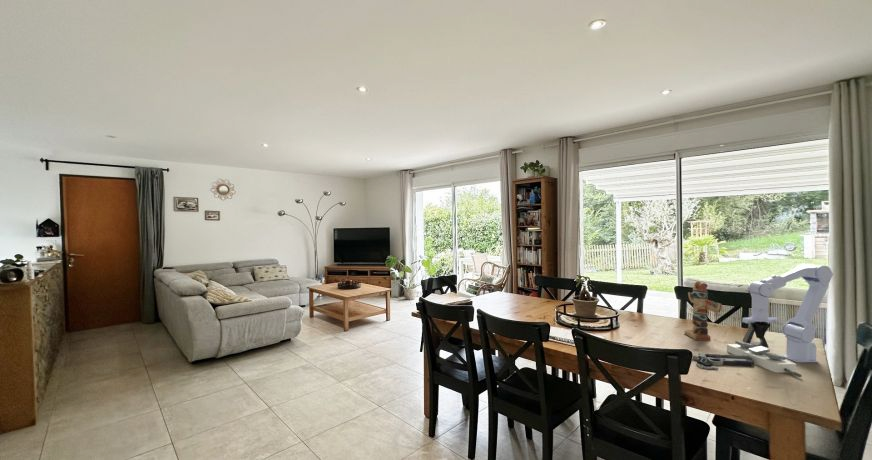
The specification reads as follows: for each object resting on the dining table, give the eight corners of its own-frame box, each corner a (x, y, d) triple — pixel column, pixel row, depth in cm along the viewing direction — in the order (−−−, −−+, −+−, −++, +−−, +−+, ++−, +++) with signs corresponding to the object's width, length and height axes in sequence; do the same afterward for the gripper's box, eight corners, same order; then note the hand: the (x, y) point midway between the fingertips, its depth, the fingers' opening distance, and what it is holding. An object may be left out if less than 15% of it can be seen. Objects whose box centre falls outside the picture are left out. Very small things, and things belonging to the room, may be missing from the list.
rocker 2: (761, 348, 163) (760, 345, 163) (769, 351, 159) (769, 348, 159) (748, 351, 163) (748, 348, 163) (756, 354, 159) (756, 351, 159)
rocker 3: (775, 356, 157) (776, 354, 156) (784, 360, 153) (785, 357, 152) (762, 354, 156) (763, 351, 156) (771, 358, 152) (772, 355, 152)
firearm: (767, 368, 149) (744, 353, 163) (700, 364, 154) (684, 349, 168) (766, 375, 149) (744, 359, 164) (700, 371, 154) (684, 356, 169)
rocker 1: (747, 345, 171) (747, 342, 170) (754, 348, 167) (755, 345, 166) (735, 343, 170) (735, 340, 170) (742, 346, 166) (743, 343, 166)
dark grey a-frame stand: (765, 343, 183) (765, 320, 183) (768, 347, 178) (768, 323, 178) (742, 340, 188) (742, 318, 188) (745, 344, 183) (745, 321, 182)
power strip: (744, 351, 174) (745, 342, 174) (811, 378, 144) (811, 368, 144) (726, 351, 173) (726, 343, 173) (789, 379, 143) (789, 368, 143)
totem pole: (675, 328, 209) (676, 277, 208) (689, 329, 208) (690, 278, 207) (705, 346, 181) (706, 287, 180) (722, 346, 180) (722, 287, 179)
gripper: (752, 311, 158) (751, 341, 159) (784, 310, 158) (784, 340, 159) (738, 307, 165) (738, 336, 166) (769, 306, 166) (769, 335, 166)
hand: (759, 338), depth 163 cm, fingers closed
